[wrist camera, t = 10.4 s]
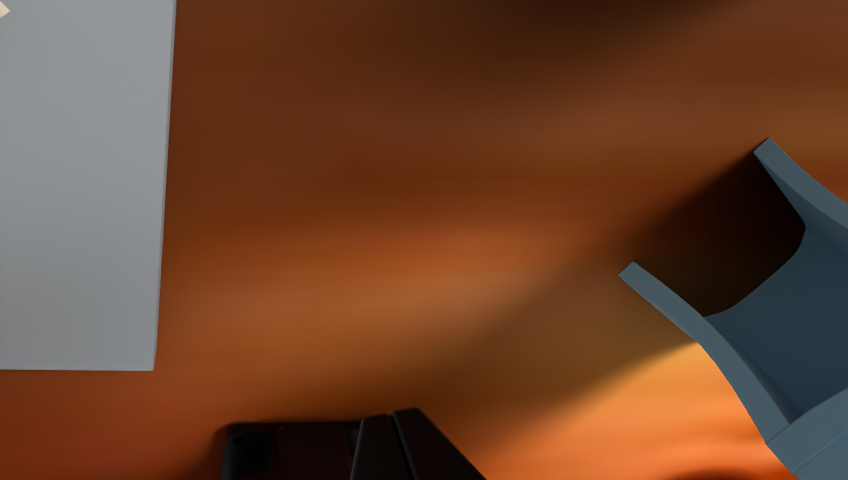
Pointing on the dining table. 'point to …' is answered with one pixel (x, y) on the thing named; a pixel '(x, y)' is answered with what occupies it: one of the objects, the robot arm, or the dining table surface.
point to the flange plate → (3, 9)
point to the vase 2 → (785, 332)
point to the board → (83, 181)
